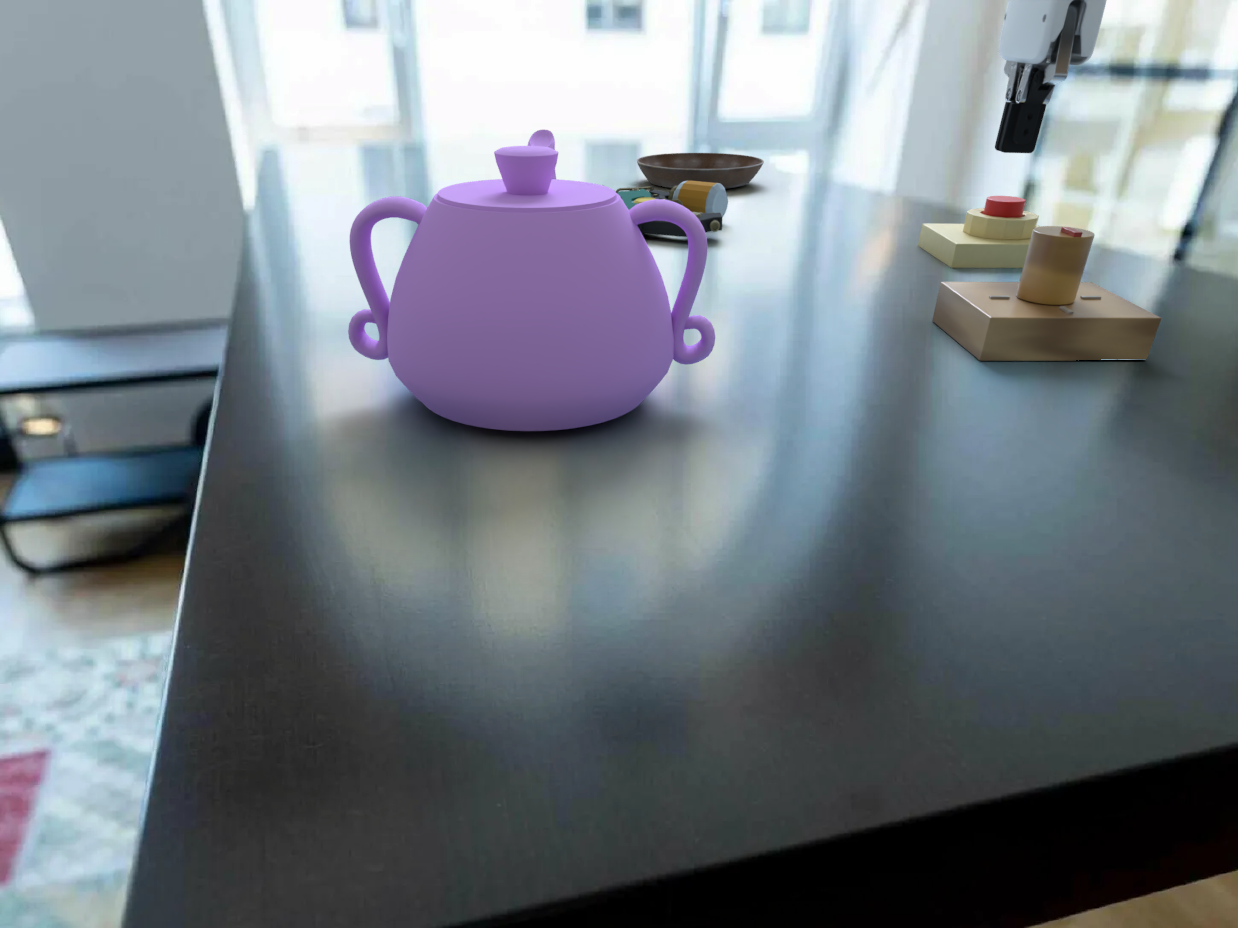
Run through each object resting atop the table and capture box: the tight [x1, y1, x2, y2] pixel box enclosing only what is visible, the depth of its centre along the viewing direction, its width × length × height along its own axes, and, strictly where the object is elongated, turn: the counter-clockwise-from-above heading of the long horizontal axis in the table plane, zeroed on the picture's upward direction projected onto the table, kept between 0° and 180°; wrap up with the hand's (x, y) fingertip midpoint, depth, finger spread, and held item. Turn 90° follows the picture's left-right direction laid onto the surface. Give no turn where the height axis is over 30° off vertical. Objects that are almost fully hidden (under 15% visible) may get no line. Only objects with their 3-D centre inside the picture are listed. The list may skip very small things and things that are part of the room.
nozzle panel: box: [931, 281, 1162, 362], centre depth 67 cm, size 12×10×3 cm
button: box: [983, 195, 1027, 218], centre depth 88 cm, size 4×4×2 cm
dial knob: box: [1016, 225, 1096, 305], centre depth 65 cm, size 4×4×5 cm
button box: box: [917, 207, 1041, 269], centre depth 90 cm, size 12×10×4 cm
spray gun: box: [615, 181, 729, 238], centre depth 100 cm, size 4×17×15 cm
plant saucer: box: [636, 152, 765, 190], centre depth 127 cm, size 18×18×3 cm
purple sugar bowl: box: [347, 129, 716, 432], centre depth 54 cm, size 22×22×14 cm
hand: (1013, 151), depth 86 cm, fingers closed
